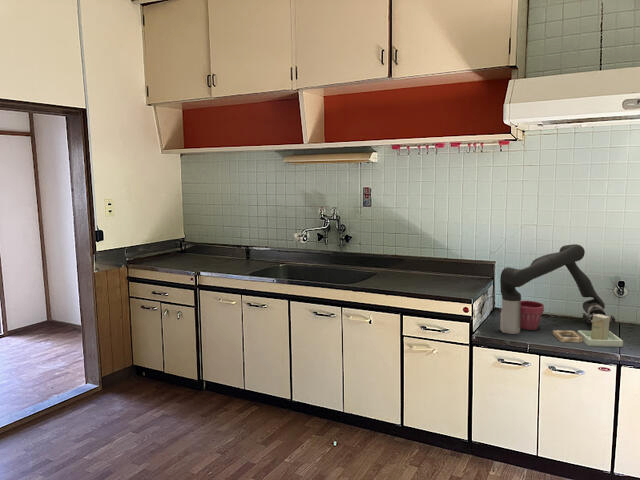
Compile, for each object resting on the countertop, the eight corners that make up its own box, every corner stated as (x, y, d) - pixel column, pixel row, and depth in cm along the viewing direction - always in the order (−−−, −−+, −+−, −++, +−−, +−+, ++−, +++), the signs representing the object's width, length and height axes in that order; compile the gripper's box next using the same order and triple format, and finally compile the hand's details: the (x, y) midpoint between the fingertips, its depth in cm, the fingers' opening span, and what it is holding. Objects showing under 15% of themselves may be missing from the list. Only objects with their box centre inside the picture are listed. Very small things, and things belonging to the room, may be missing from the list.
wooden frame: (560, 341, 251) (560, 337, 251) (552, 334, 263) (552, 330, 263) (582, 342, 250) (582, 338, 250) (573, 334, 262) (573, 330, 262)
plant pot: (539, 333, 265) (540, 308, 264) (511, 328, 273) (512, 305, 271) (545, 325, 277) (546, 302, 275) (518, 322, 285) (518, 299, 283)
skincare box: (590, 339, 253) (592, 314, 251) (597, 337, 255) (598, 313, 253) (602, 342, 247) (603, 318, 245) (608, 341, 249) (610, 316, 247)
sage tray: (588, 346, 244) (589, 340, 244) (577, 336, 259) (577, 330, 259) (622, 347, 242) (623, 340, 242) (609, 336, 257) (609, 331, 257)
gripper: (581, 305, 269) (583, 313, 254) (612, 307, 263) (617, 316, 248) (580, 319, 270) (583, 328, 255) (611, 322, 264) (616, 331, 249)
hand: (599, 322), depth 252 cm, fingers open, 8 cm apart
